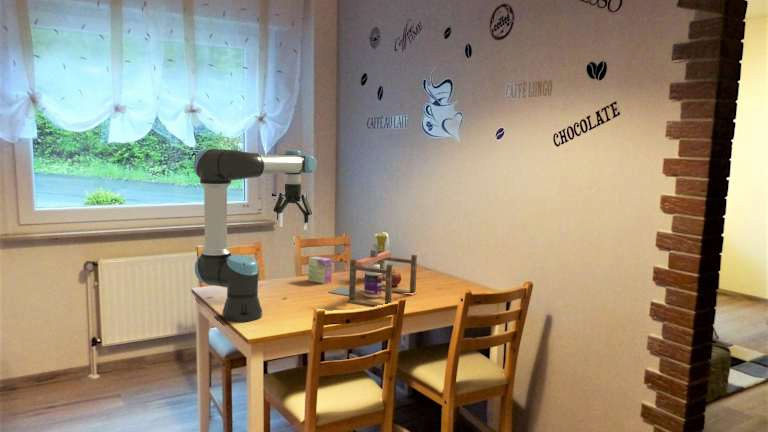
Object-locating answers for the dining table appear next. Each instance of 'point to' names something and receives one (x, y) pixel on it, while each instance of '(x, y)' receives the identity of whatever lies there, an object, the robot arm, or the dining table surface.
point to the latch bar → (372, 258)
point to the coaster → (344, 291)
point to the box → (320, 269)
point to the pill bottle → (373, 282)
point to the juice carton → (382, 247)
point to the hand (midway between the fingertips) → (292, 228)
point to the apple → (395, 278)
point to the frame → (388, 272)
